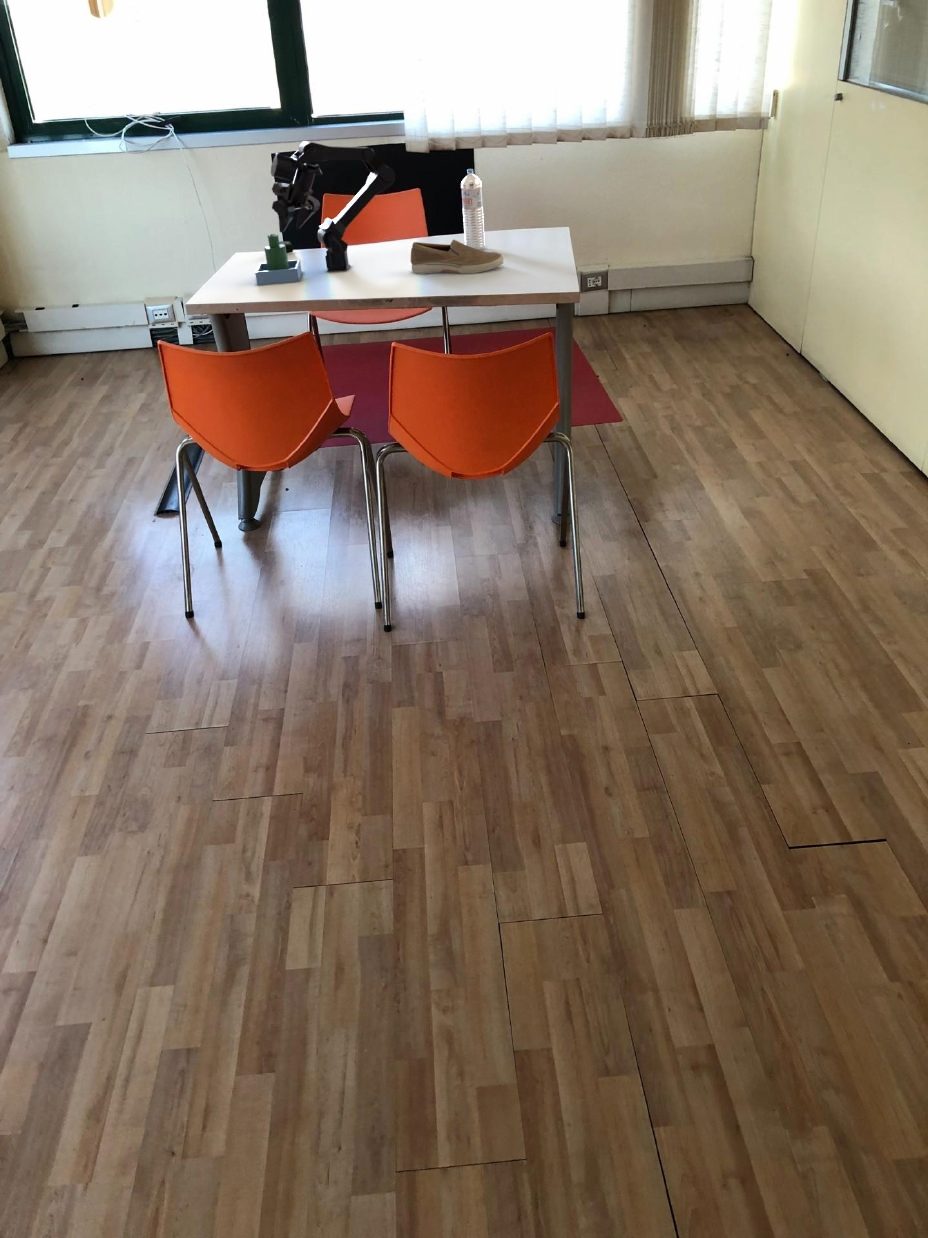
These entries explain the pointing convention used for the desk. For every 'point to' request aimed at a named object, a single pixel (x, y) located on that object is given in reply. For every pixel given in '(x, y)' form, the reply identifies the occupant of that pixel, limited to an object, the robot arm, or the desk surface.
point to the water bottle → (473, 211)
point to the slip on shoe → (452, 258)
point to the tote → (278, 274)
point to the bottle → (276, 254)
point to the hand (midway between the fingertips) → (289, 229)
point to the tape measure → (287, 246)
